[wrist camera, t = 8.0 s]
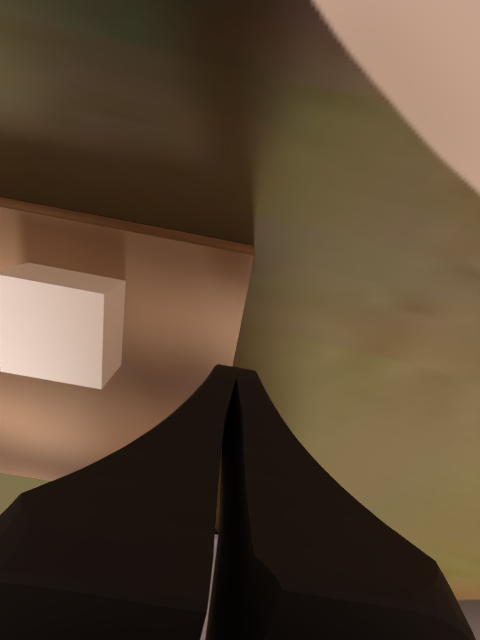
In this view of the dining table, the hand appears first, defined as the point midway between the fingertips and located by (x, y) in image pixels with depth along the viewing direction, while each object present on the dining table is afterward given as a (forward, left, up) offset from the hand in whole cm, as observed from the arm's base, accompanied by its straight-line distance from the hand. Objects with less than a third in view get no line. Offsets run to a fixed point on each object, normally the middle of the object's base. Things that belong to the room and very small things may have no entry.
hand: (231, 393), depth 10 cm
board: (-3, +6, -7) cm, 10 cm away
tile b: (0, +7, -4) cm, 8 cm away
